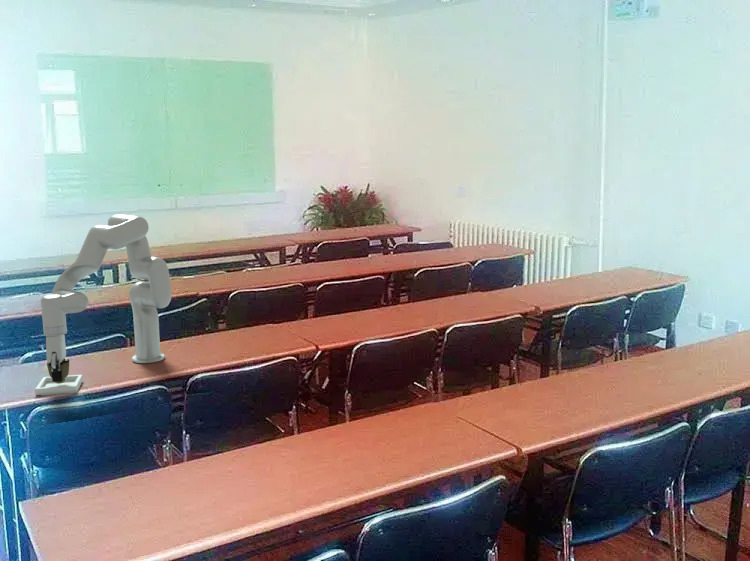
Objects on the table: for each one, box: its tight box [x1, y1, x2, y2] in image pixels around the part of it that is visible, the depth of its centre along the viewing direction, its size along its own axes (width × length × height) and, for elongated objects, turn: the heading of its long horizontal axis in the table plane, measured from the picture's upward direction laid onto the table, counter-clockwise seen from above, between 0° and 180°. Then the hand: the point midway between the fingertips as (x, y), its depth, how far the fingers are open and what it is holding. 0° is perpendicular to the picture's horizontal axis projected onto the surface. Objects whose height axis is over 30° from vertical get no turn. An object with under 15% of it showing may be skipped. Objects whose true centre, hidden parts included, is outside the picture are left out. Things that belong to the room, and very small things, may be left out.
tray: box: [34, 374, 84, 396], centre depth 269 cm, size 13×13×2 cm
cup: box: [46, 357, 70, 384], centre depth 269 cm, size 8×7×8 cm
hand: (59, 377), depth 269 cm, fingers closed on cup, 6 cm apart
